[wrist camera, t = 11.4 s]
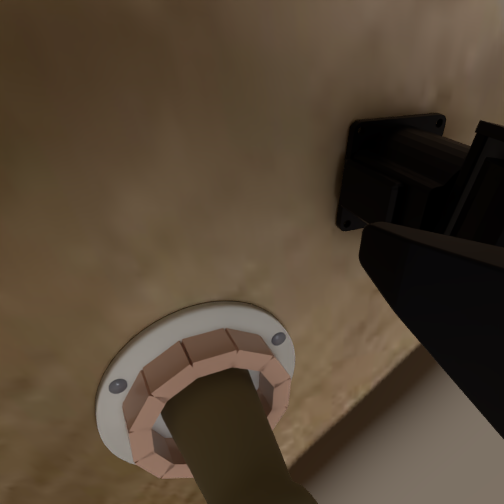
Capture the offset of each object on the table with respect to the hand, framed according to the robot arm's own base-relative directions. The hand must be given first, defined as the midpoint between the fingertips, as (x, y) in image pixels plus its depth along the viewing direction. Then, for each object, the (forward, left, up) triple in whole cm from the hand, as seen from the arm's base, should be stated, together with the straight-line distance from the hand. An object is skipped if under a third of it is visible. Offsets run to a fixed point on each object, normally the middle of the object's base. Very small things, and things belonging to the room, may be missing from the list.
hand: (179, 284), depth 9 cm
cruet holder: (-4, +17, -12) cm, 21 cm away
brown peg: (-4, +17, -11) cm, 21 cm away
